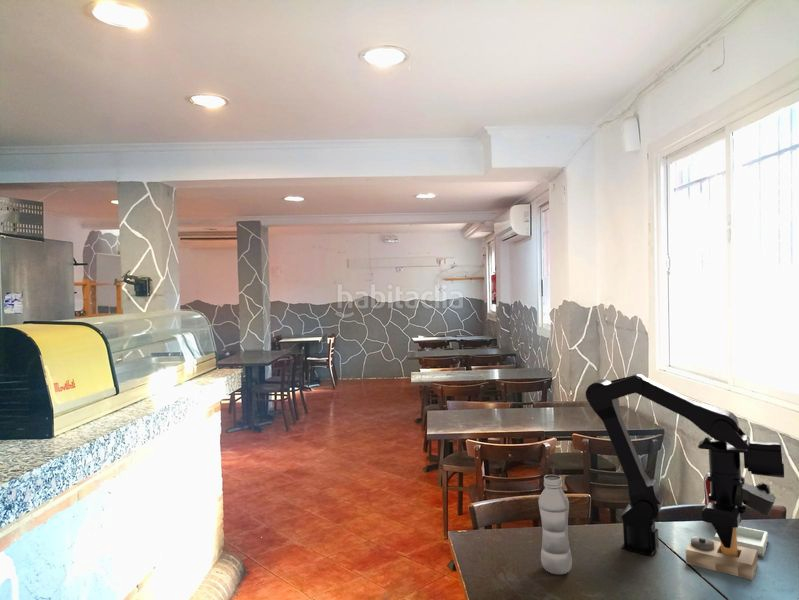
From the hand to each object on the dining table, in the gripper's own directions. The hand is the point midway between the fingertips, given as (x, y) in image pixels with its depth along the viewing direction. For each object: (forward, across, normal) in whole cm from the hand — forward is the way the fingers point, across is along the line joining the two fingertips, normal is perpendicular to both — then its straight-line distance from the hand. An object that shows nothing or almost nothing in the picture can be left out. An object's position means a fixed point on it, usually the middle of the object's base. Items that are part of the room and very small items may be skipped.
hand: (728, 544), depth 112 cm
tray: (+4, +13, 0) cm, 14 cm away
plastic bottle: (+5, -23, +28) cm, 37 cm away
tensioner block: (+4, 0, +2) cm, 5 cm away
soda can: (+5, +25, +6) cm, 26 cm away
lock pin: (+4, 0, 0) cm, 4 cm away
